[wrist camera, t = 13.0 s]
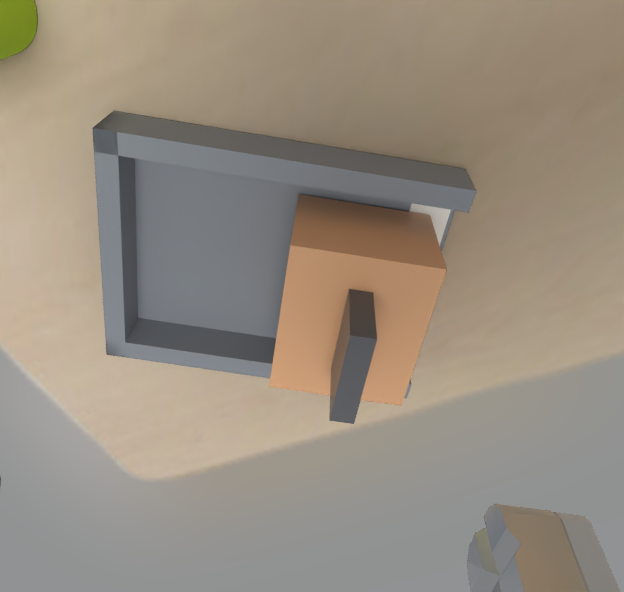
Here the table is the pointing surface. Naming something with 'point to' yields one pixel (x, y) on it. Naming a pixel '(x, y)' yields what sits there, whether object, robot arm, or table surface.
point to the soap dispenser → (16, 26)
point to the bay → (226, 231)
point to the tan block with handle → (355, 302)
